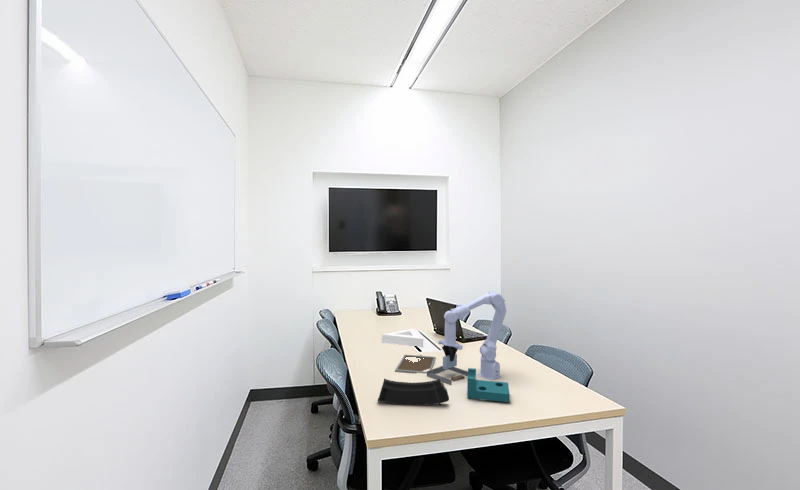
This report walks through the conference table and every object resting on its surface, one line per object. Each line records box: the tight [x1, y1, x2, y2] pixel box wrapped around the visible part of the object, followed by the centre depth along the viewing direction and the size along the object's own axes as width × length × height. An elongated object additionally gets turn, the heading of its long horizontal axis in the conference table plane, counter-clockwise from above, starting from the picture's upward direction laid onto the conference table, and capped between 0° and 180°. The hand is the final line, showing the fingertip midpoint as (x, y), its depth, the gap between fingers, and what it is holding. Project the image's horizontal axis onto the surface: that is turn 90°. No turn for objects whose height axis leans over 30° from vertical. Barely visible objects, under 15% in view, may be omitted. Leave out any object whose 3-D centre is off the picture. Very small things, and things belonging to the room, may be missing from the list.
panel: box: [442, 353, 458, 369], centre depth 186 cm, size 2×9×6 cm, turn 133°
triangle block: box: [381, 327, 424, 348], centre depth 247 cm, size 30×26×6 cm
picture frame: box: [394, 354, 437, 375], centre depth 204 cm, size 19×2×30 cm
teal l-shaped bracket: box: [466, 367, 511, 403], centre depth 161 cm, size 18×11×10 cm, turn 78°
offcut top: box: [450, 374, 465, 382], centre depth 181 cm, size 2×7×1 cm, turn 123°
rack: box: [426, 365, 468, 386], centre depth 185 cm, size 16×17×3 cm
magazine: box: [377, 378, 450, 407], centre depth 154 cm, size 17×3×30 cm
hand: (449, 360), depth 186 cm, fingers closed on panel, 2 cm apart
